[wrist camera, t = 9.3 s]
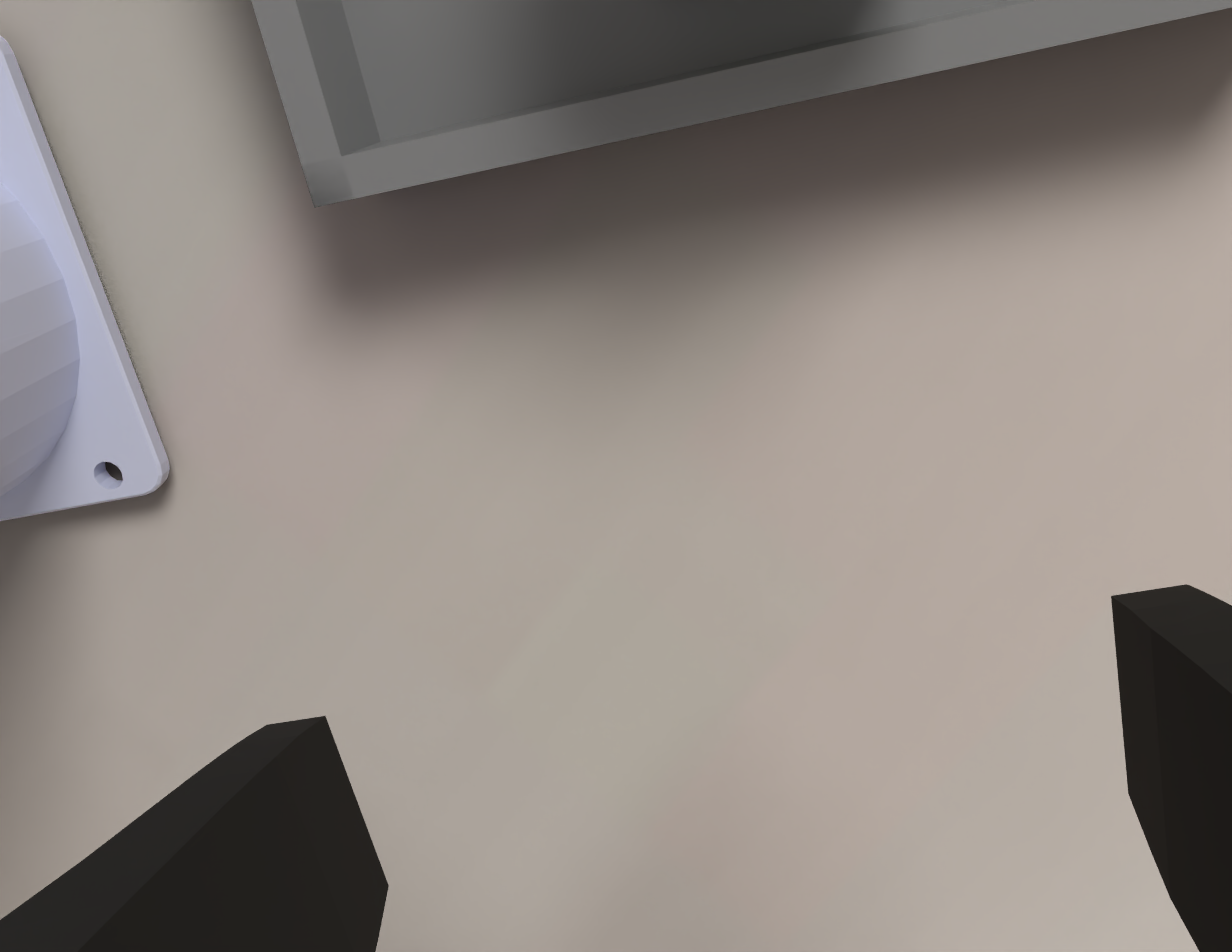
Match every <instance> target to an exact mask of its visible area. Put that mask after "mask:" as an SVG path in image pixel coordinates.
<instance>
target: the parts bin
mask: <svg viewBox="0 0 1232 952" xmlns="http://www.w3.org/2000/svg"><path fill="white" fill-rule="evenodd" d="M251 2H252V5H253V9H254V12H255V15H256V18H257V22H258V25H259V28H260V31H261V35H262V38H263V41H264V45H265V48H266V51H267V54H268V58H269V61H270V64H271V67H272V71H273V74H274V77H275V80H276V84H277V87H278V90H279V94H280V97H281V100H282V103H283V107H284V110H285V113H286V116H287V120H288V123H289V126H290V129H291V133H292V136H293V139H294V143H295V146H296V149H297V152H298V156H299V159H300V162H301V165H302V169H303V172H304V175H305V178H306V182H307V185H308V188H309V192H310V195H311V198H312V201H313V205H314V208H315V207H319V206H324V205H329V204H333V203H338V202H342V201H347V200H352V199H356V198H361V197H365V196H370V195H374V194H379V193H384V192H388V191H393V190H397V189H402V188H407V187H411V186H416V185H420V184H425V183H429V182H434V181H439V180H443V179H448V178H452V177H457V176H462V175H466V174H471V173H475V172H480V171H484V170H489V169H494V168H498V167H503V166H507V165H512V164H517V163H521V162H526V161H530V160H535V159H539V158H544V157H549V156H553V155H558V154H562V153H567V152H572V151H576V150H581V149H585V148H590V147H595V146H599V145H604V144H608V143H613V142H617V141H622V140H627V139H631V138H636V137H640V136H645V135H650V134H654V133H659V132H663V131H668V130H672V129H677V128H682V127H686V126H691V125H695V124H700V123H705V122H709V121H714V120H718V119H723V118H727V117H732V116H737V115H741V114H746V113H750V112H755V111H760V110H764V109H769V108H773V107H778V106H782V105H787V104H792V103H796V102H801V101H805V100H810V99H815V98H819V97H824V96H828V95H833V94H837V93H842V92H847V91H851V90H856V89H860V88H865V87H870V86H874V85H879V84H883V83H888V82H892V81H897V80H902V79H906V78H911V77H915V76H920V75H925V74H929V73H934V72H938V71H943V70H947V69H952V68H957V67H961V66H966V65H970V64H975V63H980V62H984V61H989V60H993V59H998V58H1002V57H1007V56H1012V55H1016V54H1021V53H1025V52H1030V51H1035V50H1039V49H1044V48H1048V47H1053V46H1058V45H1062V44H1067V43H1071V42H1076V41H1080V40H1085V39H1090V38H1094V37H1099V36H1103V35H1108V34H1113V33H1117V32H1122V31H1126V30H1131V29H1135V28H1140V27H1145V26H1149V25H1154V24H1158V23H1163V22H1168V21H1172V20H1177V19H1181V18H1186V17H1190V16H1195V15H1200V14H1204V13H1209V12H1213V11H1218V10H1223V9H1227V8H1232V0H251Z"/></svg>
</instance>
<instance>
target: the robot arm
mask: <svg viewBox="0 0 1232 952" xmlns="http://www.w3.org/2000/svg"><path fill="white" fill-rule="evenodd" d="M105 462H111V463H113V464H114V465H116V466H118V468H119V469H120V471H121V472H122V477H123V481H121V480H116V479H114V478H113V477H111V476H110V475H109V474H108V472H107V471H106V467H105ZM169 471H170V467H169V461H168V457H167V455H166V452H165V449H164V447H163V444H162V442H161V439H160V436H159V434H158V431H157V428H156V426H155V423H154V420H153V418H152V415H151V413H150V410H149V407H148V405H147V402H146V399H145V397H144V394H143V391H142V389H141V386H140V384H139V381H138V378H137V376H136V373H135V370H134V368H133V365H132V363H131V360H130V357H129V355H128V352H127V349H126V347H125V344H124V341H123V339H122V336H121V334H120V331H119V328H118V326H117V323H116V320H115V318H114V315H113V312H112V310H111V307H110V305H109V302H108V299H107V297H106V294H105V291H104V289H103V286H102V284H101V281H100V278H99V276H98V273H97V270H96V268H95V265H94V262H93V260H92V257H91V255H90V252H89V249H88V247H87V244H86V241H85V239H84V236H83V233H82V231H81V228H80V226H79V223H78V220H77V218H76V215H75V212H74V210H73V207H72V205H71V202H70V199H69V197H68V194H67V191H66V189H65V186H64V183H63V181H62V178H61V176H60V173H59V170H58V168H57V165H56V162H55V160H54V157H53V154H52V152H51V149H50V147H49V144H48V141H47V139H46V136H45V133H44V131H43V128H42V126H41V123H40V120H39V118H38V115H37V112H36V110H35V107H34V104H33V102H32V99H31V97H30V94H29V91H28V89H27V86H26V83H25V81H24V78H23V76H22V73H21V70H20V68H19V65H18V62H17V60H16V57H15V54H14V52H13V51H12V49H11V47H10V45H9V44H8V42H7V41H6V40H5V39H4V38H3V37H2V36H0V521H4V520H10V519H15V518H21V517H26V516H32V515H37V514H43V513H49V512H54V511H60V510H65V509H71V508H76V507H82V506H88V505H93V504H99V503H104V502H110V501H115V500H121V499H127V498H132V497H138V496H143V495H147V494H149V493H152V492H154V491H155V490H156V489H158V488H159V487H160V486H161V485H162V484H163V483H164V482H165V481H166V479H167V478H168V475H169ZM1111 599H1112V611H1113V622H1114V634H1115V645H1116V657H1117V668H1118V680H1119V691H1120V703H1121V714H1122V725H1123V737H1124V748H1125V760H1126V771H1127V783H1128V794H1129V796H1130V799H1131V801H1132V804H1133V806H1134V809H1135V812H1136V814H1137V817H1138V819H1139V822H1140V824H1141V827H1142V829H1143V832H1144V835H1145V837H1146V840H1147V842H1148V845H1149V847H1150V850H1151V852H1152V855H1153V857H1154V860H1155V862H1156V864H1157V867H1158V869H1159V872H1160V874H1161V877H1162V879H1163V881H1164V884H1165V886H1166V889H1167V891H1168V894H1169V896H1170V898H1171V900H1172V902H1173V904H1174V906H1175V908H1176V909H1177V911H1178V913H1179V915H1180V917H1181V919H1182V920H1183V922H1184V924H1185V926H1186V928H1187V930H1188V931H1189V933H1190V935H1191V937H1192V939H1193V940H1194V942H1195V944H1196V946H1197V948H1198V950H1199V951H1200V952H1232V606H1231V605H1229V604H1227V603H1226V602H1224V601H1222V600H1220V599H1218V598H1216V597H1214V596H1211V595H1209V594H1207V593H1205V592H1203V591H1201V590H1199V589H1196V588H1194V587H1192V586H1190V585H1180V586H1174V587H1167V588H1160V589H1154V590H1147V591H1141V592H1134V593H1128V594H1121V595H1115V596H1111ZM387 891H388V883H387V880H386V878H385V875H384V872H383V870H382V867H381V864H380V861H379V859H378V856H377V853H376V851H375V848H374V845H373V843H372V840H371V837H370V835H369V832H368V829H367V827H366V824H365V821H364V819H363V816H362V813H361V811H360V808H359V805H358V802H357V800H356V797H355V794H354V792H353V789H352V786H351V784H350V781H349V778H348V776H347V773H346V770H345V768H344V765H343V762H342V760H341V757H340V754H339V752H338V749H337V746H336V743H335V741H334V738H333V735H332V733H331V730H330V727H329V725H328V722H327V719H326V717H325V716H322V717H315V718H309V719H302V720H296V721H289V722H283V723H276V724H270V725H266V726H264V727H263V728H261V729H259V730H258V731H256V732H254V733H253V734H251V735H249V736H248V737H246V738H245V739H243V740H242V741H240V742H239V743H237V744H236V745H234V746H233V747H231V748H230V749H228V750H227V751H226V752H224V753H223V754H221V755H220V756H219V757H217V758H216V759H215V760H213V761H212V762H210V763H209V764H208V765H206V766H205V767H204V768H202V769H201V770H200V771H198V772H197V773H196V774H194V775H193V776H192V777H190V778H189V779H188V780H186V781H185V782H184V783H183V784H181V785H180V786H179V787H177V788H176V789H175V790H173V791H172V792H171V793H170V794H168V795H167V796H166V797H164V798H163V799H162V800H160V801H159V802H158V803H157V804H155V805H154V806H153V807H151V808H150V809H149V810H147V811H146V812H145V813H144V814H142V815H141V816H140V817H138V818H137V819H136V820H134V821H133V822H132V823H131V824H129V825H128V826H127V827H125V828H124V829H123V830H121V831H120V832H119V833H118V834H116V835H115V836H114V837H112V838H111V839H110V840H108V841H107V842H106V843H105V844H103V845H102V846H101V847H99V848H98V849H97V850H95V851H94V852H93V853H92V854H90V855H89V856H88V857H86V858H85V859H84V860H82V861H81V862H80V863H78V864H77V865H76V866H74V867H73V868H71V869H70V870H69V871H67V872H66V873H64V874H63V875H62V876H60V877H59V878H58V879H56V880H55V881H53V882H52V883H51V884H49V885H48V886H47V887H45V888H44V889H42V890H41V891H40V892H38V893H37V894H36V895H34V896H33V897H31V898H30V899H29V900H27V901H26V902H25V903H23V904H22V905H20V906H19V907H18V908H16V909H15V910H13V911H12V912H11V913H9V914H8V915H7V916H5V917H4V918H2V919H1V920H0V952H375V951H376V946H377V942H378V937H379V932H380V927H381V922H382V917H383V912H384V906H385V901H386V896H387Z"/></svg>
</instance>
